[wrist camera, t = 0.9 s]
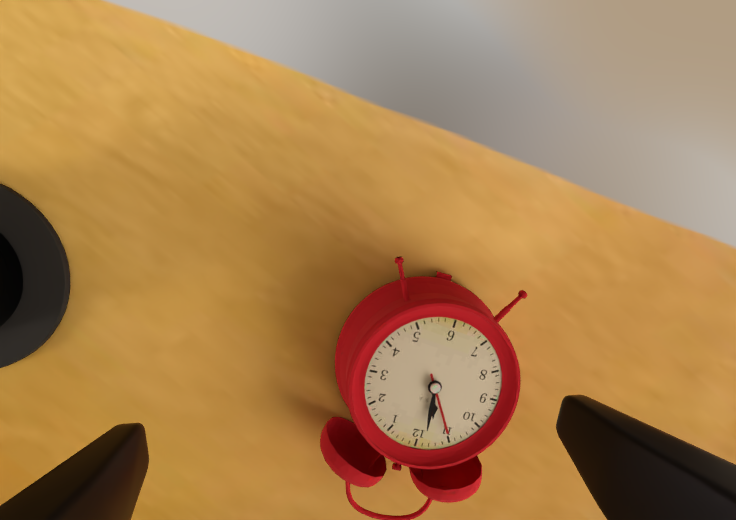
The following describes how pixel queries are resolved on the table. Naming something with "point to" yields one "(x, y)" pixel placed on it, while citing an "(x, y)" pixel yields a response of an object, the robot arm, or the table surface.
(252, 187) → the table surface
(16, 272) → the labeled black canister
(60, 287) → the base
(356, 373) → the alarm clock
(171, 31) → the table surface
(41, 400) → the table surface
